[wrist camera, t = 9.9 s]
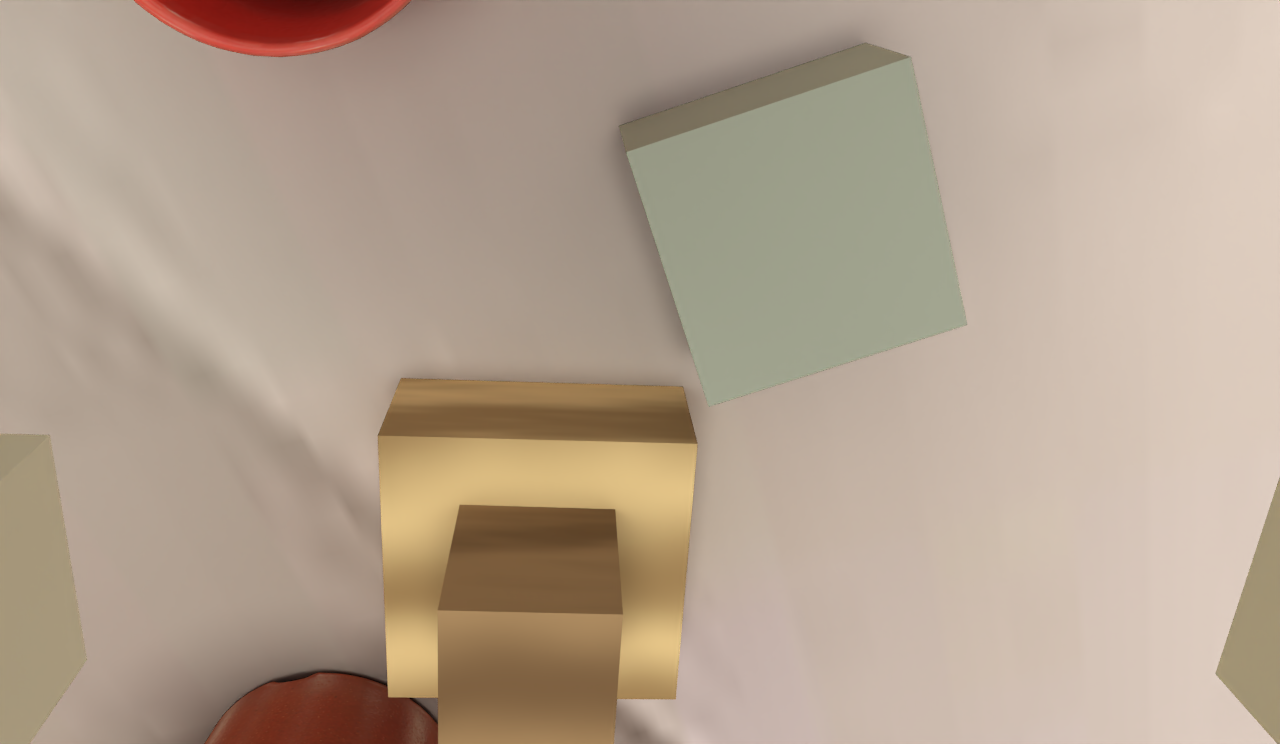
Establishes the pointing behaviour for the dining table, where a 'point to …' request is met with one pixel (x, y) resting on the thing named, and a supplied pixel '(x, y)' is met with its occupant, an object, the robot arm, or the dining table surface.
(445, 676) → the walnut block
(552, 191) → the dining table surface
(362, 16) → the flower pot
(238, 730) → the flower pot
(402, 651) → the oak pedestal
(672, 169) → the sage green pedestal
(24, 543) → the robot arm
